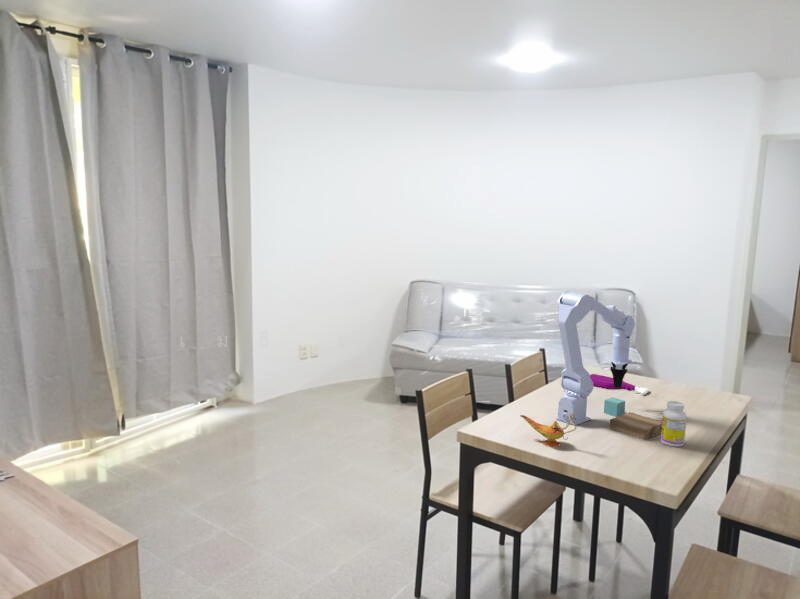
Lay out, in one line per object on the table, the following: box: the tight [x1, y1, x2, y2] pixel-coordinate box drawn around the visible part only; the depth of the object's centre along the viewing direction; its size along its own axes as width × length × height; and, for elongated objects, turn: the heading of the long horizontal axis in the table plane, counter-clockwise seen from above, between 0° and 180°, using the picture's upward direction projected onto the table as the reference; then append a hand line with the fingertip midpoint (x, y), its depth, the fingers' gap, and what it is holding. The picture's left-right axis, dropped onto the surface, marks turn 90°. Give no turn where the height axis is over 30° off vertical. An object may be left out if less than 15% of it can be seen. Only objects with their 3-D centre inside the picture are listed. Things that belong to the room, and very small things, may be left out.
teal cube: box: [603, 396, 626, 418], centre depth 201 cm, size 5×5×5 cm
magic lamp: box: [519, 414, 577, 448], centre depth 175 cm, size 7×18×11 cm, turn 55°
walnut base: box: [608, 411, 662, 441], centre depth 186 cm, size 12×12×3 cm
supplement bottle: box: [660, 400, 688, 448], centre depth 175 cm, size 7×7×13 cm
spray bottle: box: [590, 373, 650, 396], centre depth 232 cm, size 3×11×24 cm
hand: (617, 384), depth 204 cm, fingers open, 7 cm apart
